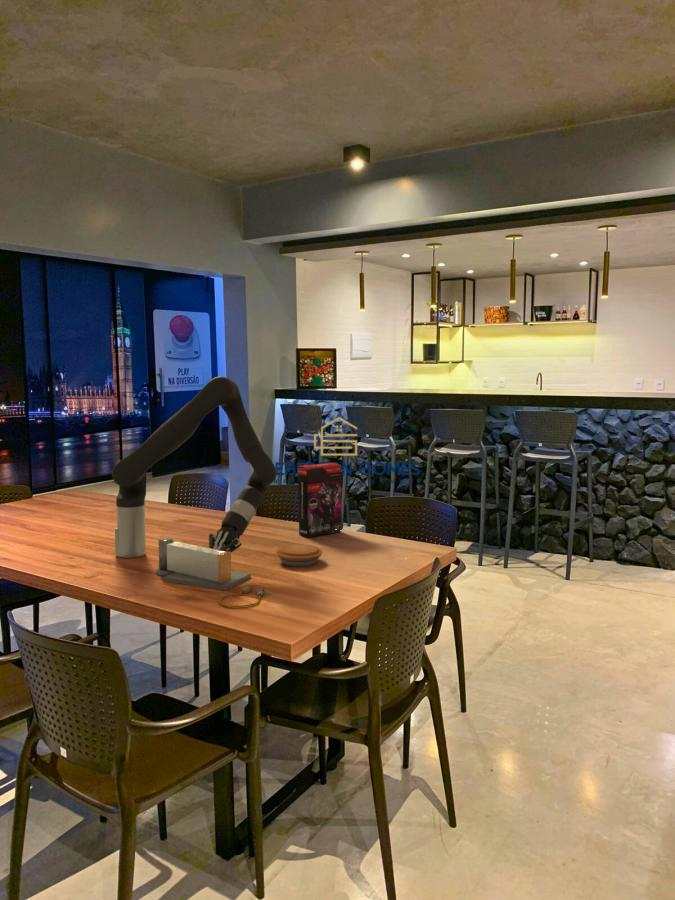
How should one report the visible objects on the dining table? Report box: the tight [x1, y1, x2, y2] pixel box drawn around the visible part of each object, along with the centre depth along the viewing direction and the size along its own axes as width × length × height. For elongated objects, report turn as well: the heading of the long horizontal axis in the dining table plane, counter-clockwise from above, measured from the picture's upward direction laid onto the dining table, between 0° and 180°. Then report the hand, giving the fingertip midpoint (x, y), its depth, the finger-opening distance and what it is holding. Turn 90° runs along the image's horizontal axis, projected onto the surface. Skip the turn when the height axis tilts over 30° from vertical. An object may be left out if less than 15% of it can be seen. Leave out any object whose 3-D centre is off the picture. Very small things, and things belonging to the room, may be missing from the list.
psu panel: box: [156, 567, 252, 591], centre depth 208 cm, size 29×14×1 cm, turn 67°
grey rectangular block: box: [158, 537, 232, 583], centre depth 206 cm, size 27×4×9 cm, turn 57°
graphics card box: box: [297, 462, 343, 538], centre depth 265 cm, size 17×7×27 cm, turn 128°
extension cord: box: [218, 585, 266, 610], centre depth 189 cm, size 12×16×2 cm
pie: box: [275, 543, 323, 568], centre depth 227 cm, size 15×16×5 cm
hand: (210, 564), depth 206 cm, fingers closed
